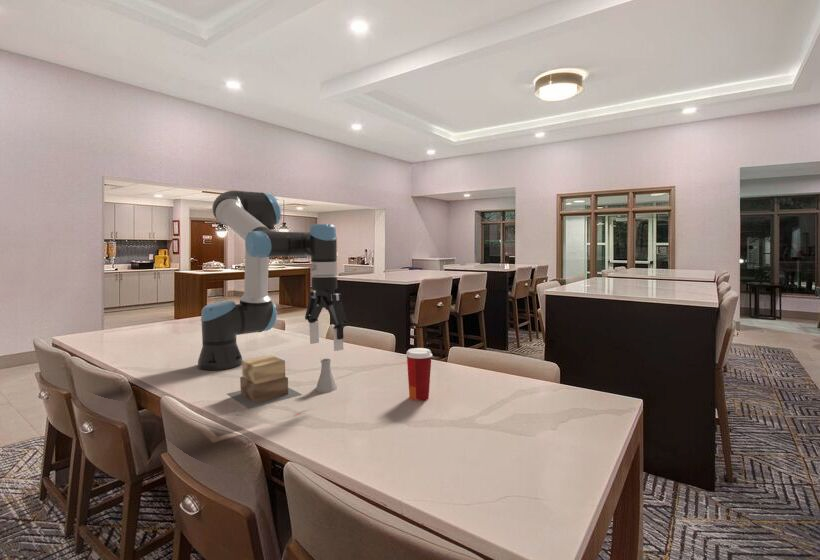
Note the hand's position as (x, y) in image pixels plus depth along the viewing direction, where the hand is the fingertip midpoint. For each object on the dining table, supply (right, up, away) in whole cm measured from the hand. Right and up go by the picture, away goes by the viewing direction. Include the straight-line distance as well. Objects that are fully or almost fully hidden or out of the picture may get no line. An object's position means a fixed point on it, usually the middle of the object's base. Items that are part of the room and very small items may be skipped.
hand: (326, 346), depth 131 cm
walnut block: (-17, -13, -4) cm, 22 cm away
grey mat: (-17, -14, -4) cm, 23 cm away
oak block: (-17, -8, -4) cm, 20 cm away
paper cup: (+28, -15, -4) cm, 32 cm away
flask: (0, -14, +1) cm, 14 cm away
